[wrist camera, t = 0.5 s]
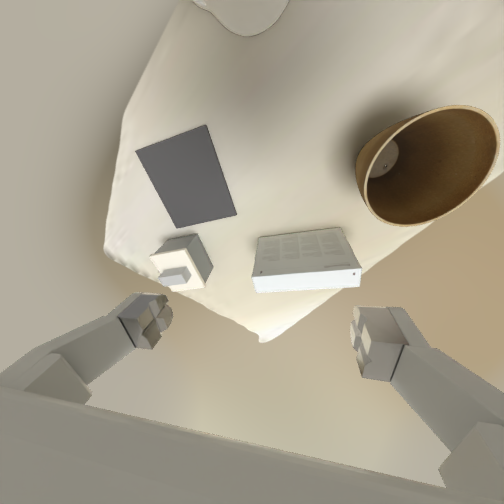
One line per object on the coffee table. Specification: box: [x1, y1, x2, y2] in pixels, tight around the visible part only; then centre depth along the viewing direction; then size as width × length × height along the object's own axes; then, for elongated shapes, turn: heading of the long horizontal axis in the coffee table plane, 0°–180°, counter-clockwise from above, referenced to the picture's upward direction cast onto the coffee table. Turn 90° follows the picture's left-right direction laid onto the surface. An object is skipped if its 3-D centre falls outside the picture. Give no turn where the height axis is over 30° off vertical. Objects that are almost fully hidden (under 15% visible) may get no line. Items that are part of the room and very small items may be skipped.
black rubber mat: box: [135, 125, 237, 228], centre depth 47 cm, size 20×18×1 cm
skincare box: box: [251, 227, 362, 293], centre depth 45 cm, size 21×5×16 cm, turn 102°
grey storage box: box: [154, 234, 213, 283], centre depth 56 cm, size 12×10×8 cm
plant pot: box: [355, 105, 500, 227], centre depth 32 cm, size 15×15×16 cm
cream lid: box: [149, 248, 206, 291], centre depth 51 cm, size 13×11×6 cm
